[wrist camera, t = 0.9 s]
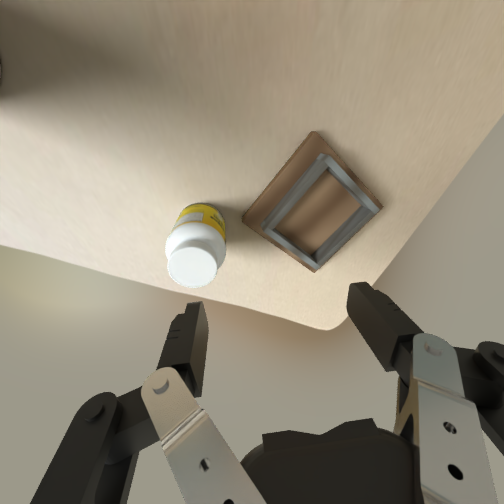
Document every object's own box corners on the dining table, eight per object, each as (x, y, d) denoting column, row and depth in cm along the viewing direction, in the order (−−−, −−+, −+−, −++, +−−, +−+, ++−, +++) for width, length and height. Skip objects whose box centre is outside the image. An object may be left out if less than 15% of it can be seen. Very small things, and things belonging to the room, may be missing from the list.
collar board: (241, 218, 31) (244, 229, 28) (311, 131, 27) (324, 131, 23) (310, 268, 37) (320, 282, 34) (377, 203, 33) (395, 212, 29)
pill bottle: (222, 246, 33) (223, 297, 23) (177, 242, 32) (158, 294, 22) (227, 204, 30) (231, 242, 20) (178, 198, 29) (155, 234, 19)
